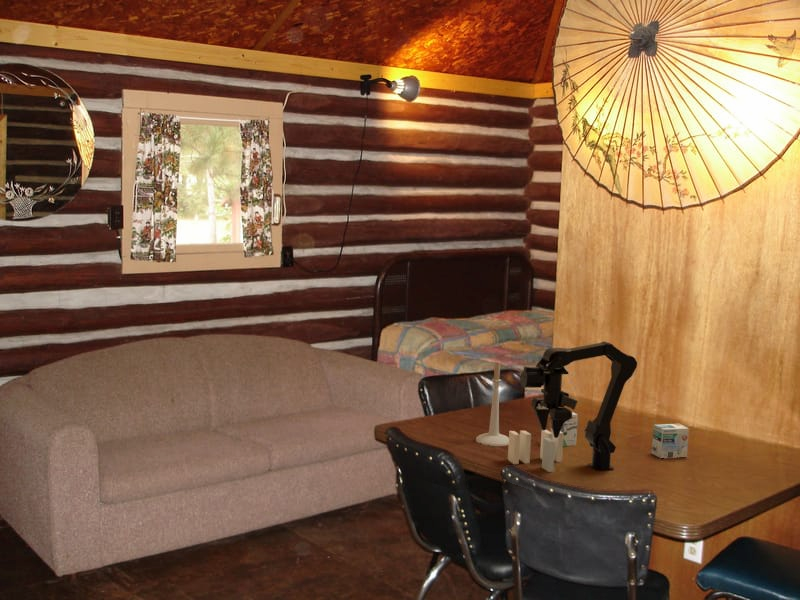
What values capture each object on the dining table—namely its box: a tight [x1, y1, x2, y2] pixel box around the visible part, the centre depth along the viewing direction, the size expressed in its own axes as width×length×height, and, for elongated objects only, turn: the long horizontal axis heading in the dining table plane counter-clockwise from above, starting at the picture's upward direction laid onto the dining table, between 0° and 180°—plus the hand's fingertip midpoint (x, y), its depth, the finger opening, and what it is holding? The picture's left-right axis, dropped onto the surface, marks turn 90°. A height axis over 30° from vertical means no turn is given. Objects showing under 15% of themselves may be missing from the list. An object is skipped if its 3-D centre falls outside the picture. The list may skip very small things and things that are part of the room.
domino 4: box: [541, 438, 555, 473], centre depth 296 cm, size 5×2×10 cm, turn 16°
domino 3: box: [539, 429, 553, 460], centre depth 306 cm, size 5×2×10 cm, turn 16°
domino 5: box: [552, 430, 564, 463], centre depth 307 cm, size 5×2×10 cm, turn 16°
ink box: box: [550, 411, 579, 447], centre depth 326 cm, size 9×5×12 cm, turn 117°
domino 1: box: [507, 430, 520, 465], centre depth 303 cm, size 5×2×10 cm, turn 16°
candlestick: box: [475, 360, 509, 447], centre depth 326 cm, size 13×13×30 cm
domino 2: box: [519, 430, 532, 464], centre depth 304 cm, size 5×2×10 cm, turn 16°
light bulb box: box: [651, 423, 690, 459], centre depth 317 cm, size 11×7×11 cm, turn 105°
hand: (549, 433), depth 295 cm, fingers open, 9 cm apart
